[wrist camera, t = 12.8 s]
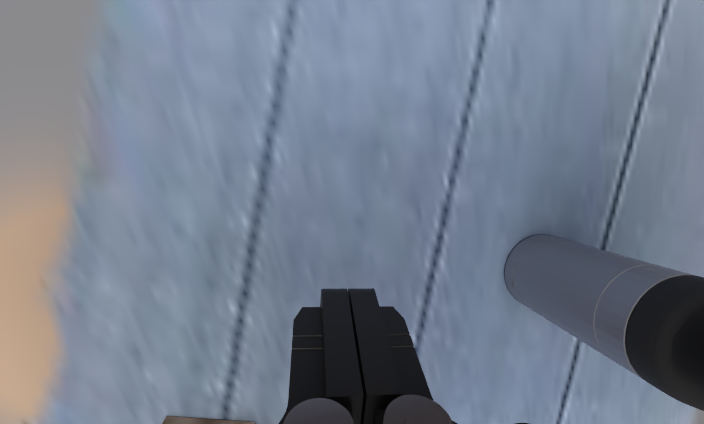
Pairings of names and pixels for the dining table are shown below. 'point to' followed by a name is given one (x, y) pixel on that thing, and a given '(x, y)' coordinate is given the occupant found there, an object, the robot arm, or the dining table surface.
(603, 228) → the dining table surface
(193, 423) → the tan wooden stepped bar
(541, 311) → the robot arm
